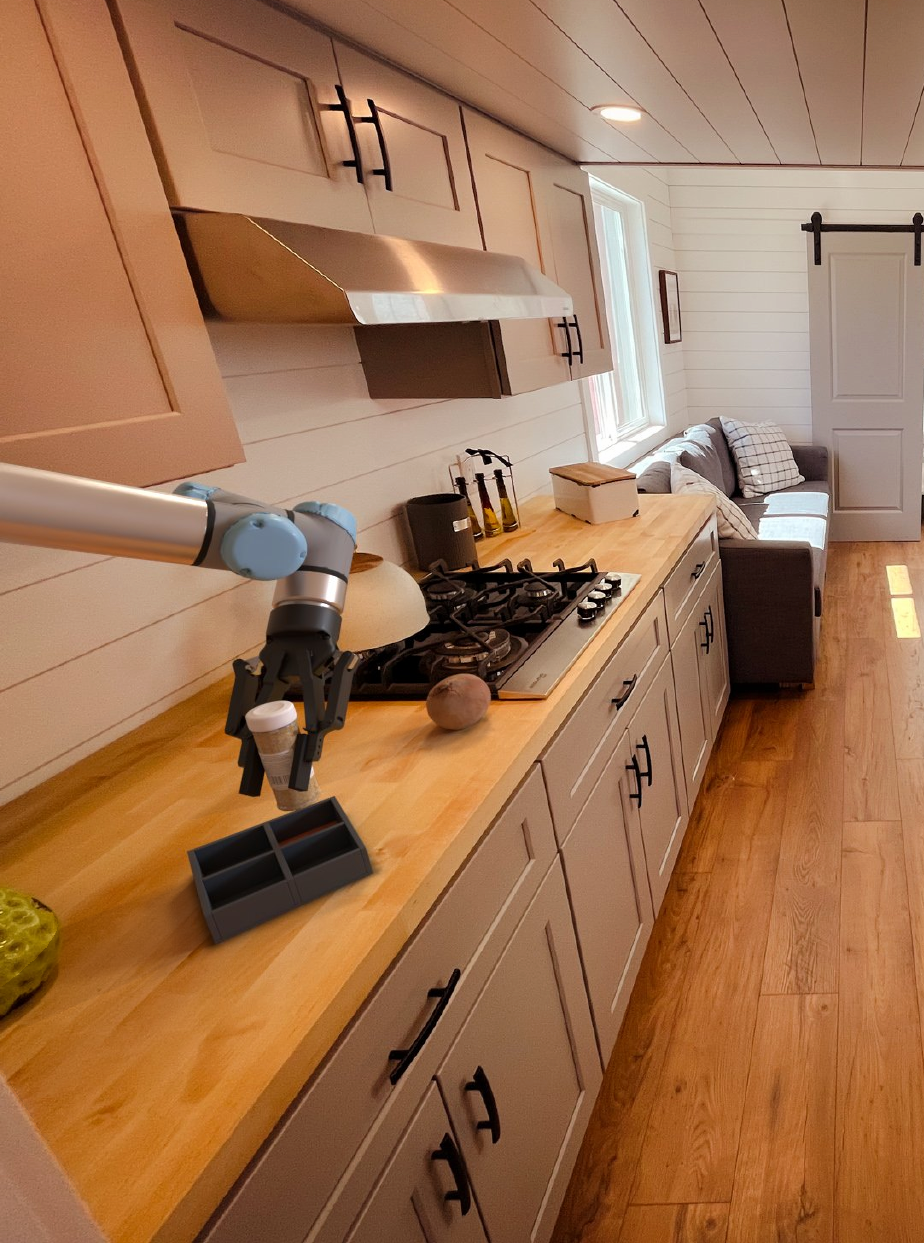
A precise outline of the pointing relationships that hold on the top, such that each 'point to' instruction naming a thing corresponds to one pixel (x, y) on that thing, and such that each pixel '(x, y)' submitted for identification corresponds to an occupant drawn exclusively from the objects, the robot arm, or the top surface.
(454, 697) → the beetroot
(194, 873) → the grid
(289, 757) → the spice jar
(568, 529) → the top surface
